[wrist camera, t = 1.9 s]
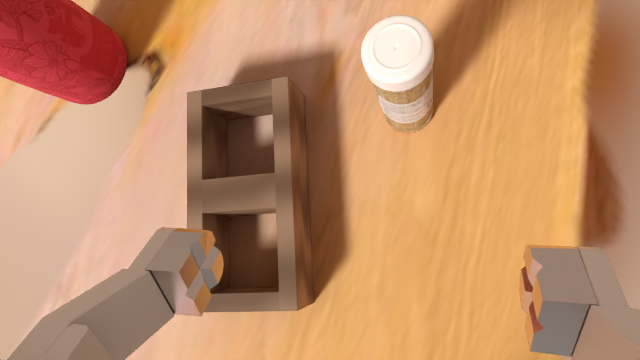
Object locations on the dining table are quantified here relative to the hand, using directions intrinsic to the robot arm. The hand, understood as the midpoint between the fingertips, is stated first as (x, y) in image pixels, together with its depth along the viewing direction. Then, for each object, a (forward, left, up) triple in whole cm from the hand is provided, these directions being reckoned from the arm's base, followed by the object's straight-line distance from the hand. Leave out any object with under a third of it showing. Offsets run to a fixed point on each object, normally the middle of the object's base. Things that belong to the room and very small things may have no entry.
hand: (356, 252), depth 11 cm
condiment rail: (+5, +14, -27) cm, 31 cm away
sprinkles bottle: (+12, -1, -28) cm, 30 cm away
